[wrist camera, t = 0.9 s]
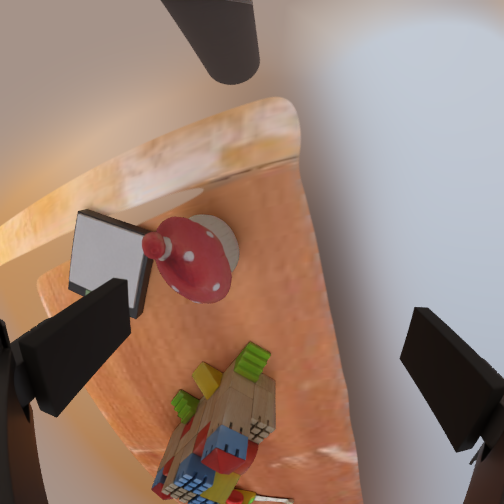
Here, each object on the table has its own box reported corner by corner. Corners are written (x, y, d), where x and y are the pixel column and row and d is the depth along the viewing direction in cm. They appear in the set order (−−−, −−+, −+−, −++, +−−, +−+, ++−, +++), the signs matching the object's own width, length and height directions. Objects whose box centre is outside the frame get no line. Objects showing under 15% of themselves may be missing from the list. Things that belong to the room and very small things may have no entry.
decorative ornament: (174, 218, 38) (120, 239, 24) (220, 196, 37) (187, 205, 23) (205, 283, 40) (170, 337, 25) (251, 264, 39) (238, 312, 24)
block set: (213, 463, 48) (195, 543, 29) (149, 429, 47) (112, 506, 28) (309, 375, 42) (323, 478, 23) (227, 326, 41) (196, 424, 22)
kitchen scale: (87, 209, 39) (75, 211, 36) (159, 233, 39) (150, 237, 36) (76, 284, 42) (65, 290, 39) (142, 312, 42) (134, 321, 39)
